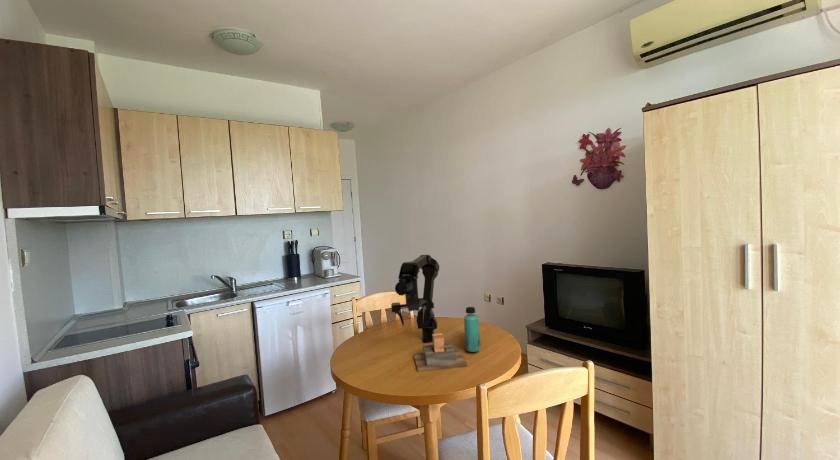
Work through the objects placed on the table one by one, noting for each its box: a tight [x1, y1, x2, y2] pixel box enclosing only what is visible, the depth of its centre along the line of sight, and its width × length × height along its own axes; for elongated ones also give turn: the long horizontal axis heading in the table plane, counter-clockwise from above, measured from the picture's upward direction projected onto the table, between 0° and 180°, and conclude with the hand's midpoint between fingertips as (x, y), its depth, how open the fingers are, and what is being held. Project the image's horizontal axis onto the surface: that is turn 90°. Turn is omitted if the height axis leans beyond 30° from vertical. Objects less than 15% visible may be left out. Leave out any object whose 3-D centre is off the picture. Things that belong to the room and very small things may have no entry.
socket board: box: [413, 342, 468, 373], centre depth 148 cm, size 16×20×5 cm
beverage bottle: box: [463, 306, 481, 353], centre depth 154 cm, size 6×7×20 cm
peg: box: [432, 332, 445, 352], centre depth 148 cm, size 4×4×10 cm
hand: (413, 324), depth 157 cm, fingers open, 9 cm apart
